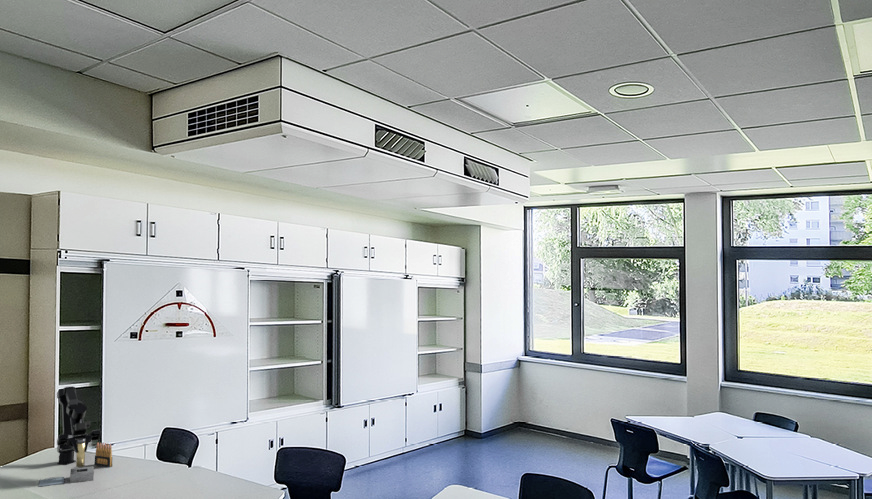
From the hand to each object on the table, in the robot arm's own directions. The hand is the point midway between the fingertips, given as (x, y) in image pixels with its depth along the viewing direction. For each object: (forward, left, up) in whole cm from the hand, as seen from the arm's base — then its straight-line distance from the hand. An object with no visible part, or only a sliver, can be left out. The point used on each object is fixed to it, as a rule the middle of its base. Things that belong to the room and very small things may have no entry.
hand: (81, 452), depth 310 cm
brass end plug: (-1, -1, -7) cm, 7 cm away
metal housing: (-1, -1, -13) cm, 14 cm away
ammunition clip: (-21, -8, -14) cm, 26 cm away
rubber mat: (+8, -9, -13) cm, 18 cm away
